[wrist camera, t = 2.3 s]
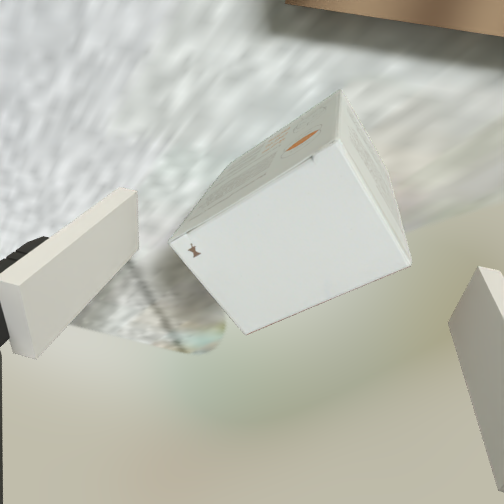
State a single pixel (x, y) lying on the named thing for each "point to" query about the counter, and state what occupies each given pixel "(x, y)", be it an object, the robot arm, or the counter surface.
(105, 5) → the counter surface
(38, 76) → the counter surface
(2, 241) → the counter surface
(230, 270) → the small box
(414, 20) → the mounting plate
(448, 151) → the counter surface
